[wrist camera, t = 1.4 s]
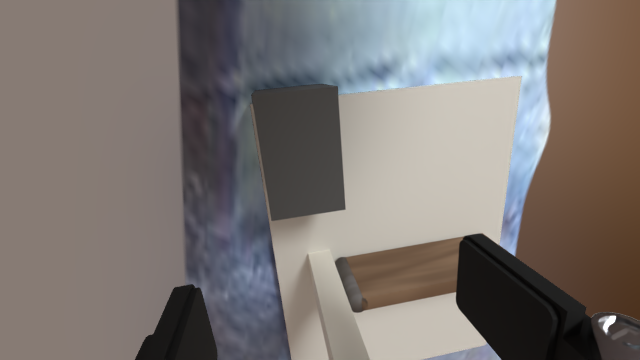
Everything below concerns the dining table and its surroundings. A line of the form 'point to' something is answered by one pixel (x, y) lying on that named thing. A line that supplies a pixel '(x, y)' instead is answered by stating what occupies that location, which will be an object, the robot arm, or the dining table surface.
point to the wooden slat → (400, 274)
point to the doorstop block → (300, 149)
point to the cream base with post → (398, 215)
